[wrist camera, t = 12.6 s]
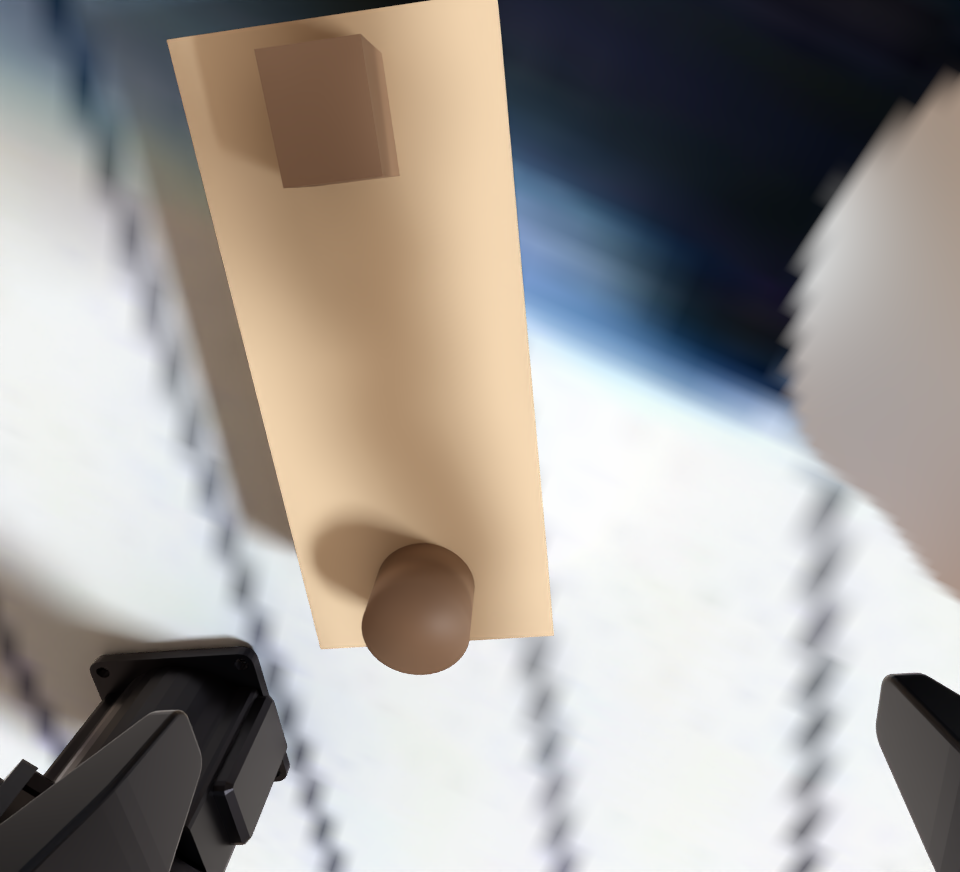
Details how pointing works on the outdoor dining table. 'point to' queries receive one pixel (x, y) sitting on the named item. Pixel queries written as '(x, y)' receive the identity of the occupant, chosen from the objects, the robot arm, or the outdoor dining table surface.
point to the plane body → (382, 314)
